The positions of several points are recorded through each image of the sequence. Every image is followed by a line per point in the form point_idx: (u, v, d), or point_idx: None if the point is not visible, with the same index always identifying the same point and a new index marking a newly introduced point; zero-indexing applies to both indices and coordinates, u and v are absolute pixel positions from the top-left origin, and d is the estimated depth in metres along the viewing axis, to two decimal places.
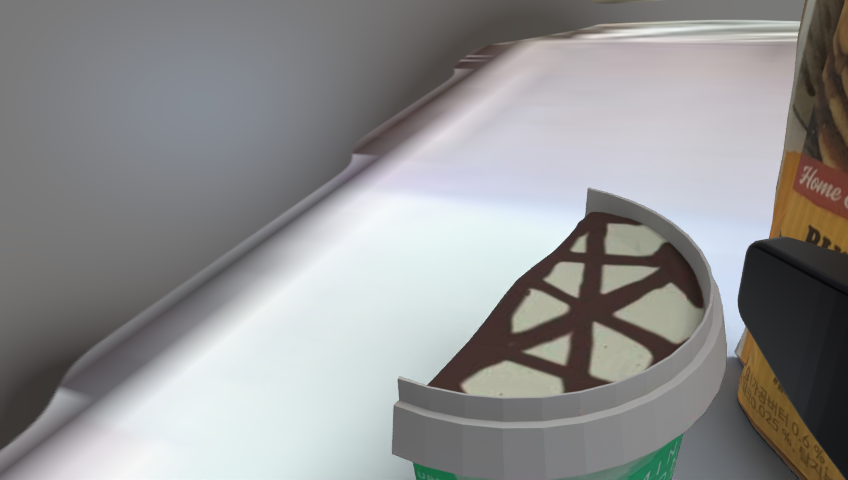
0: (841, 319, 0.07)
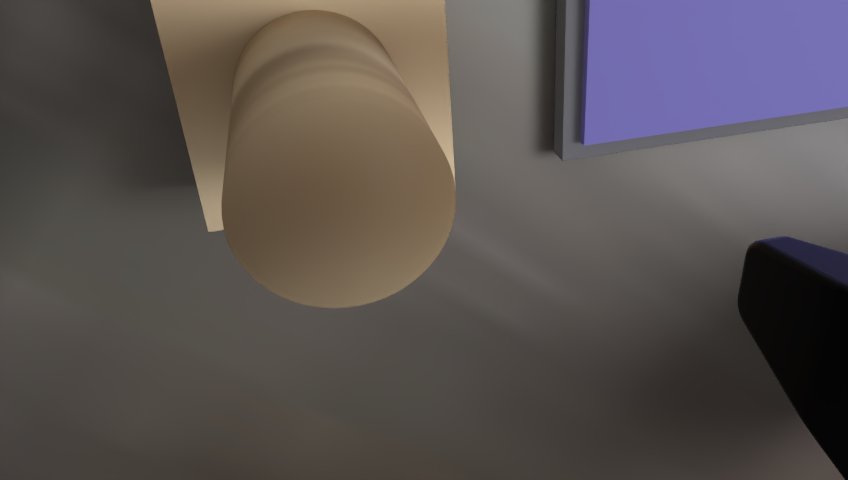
0: (841, 319, 0.07)
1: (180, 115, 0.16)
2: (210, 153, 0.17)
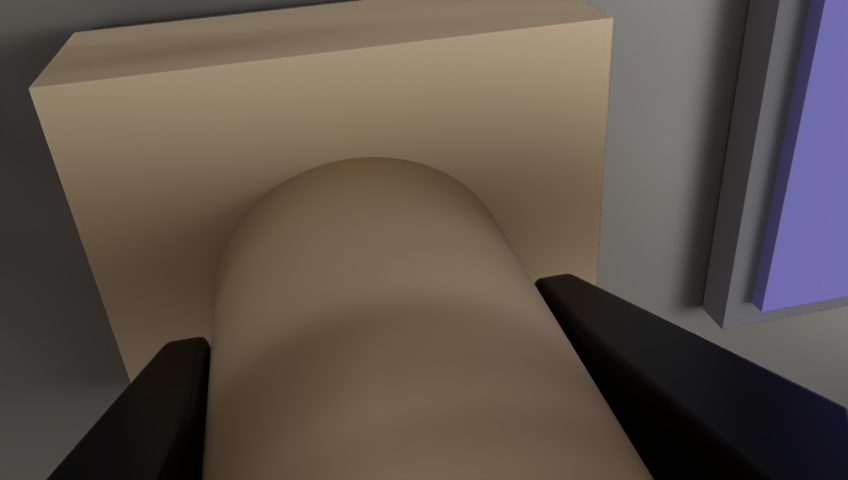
0: (589, 367, 0.07)
1: (118, 341, 0.09)
2: None
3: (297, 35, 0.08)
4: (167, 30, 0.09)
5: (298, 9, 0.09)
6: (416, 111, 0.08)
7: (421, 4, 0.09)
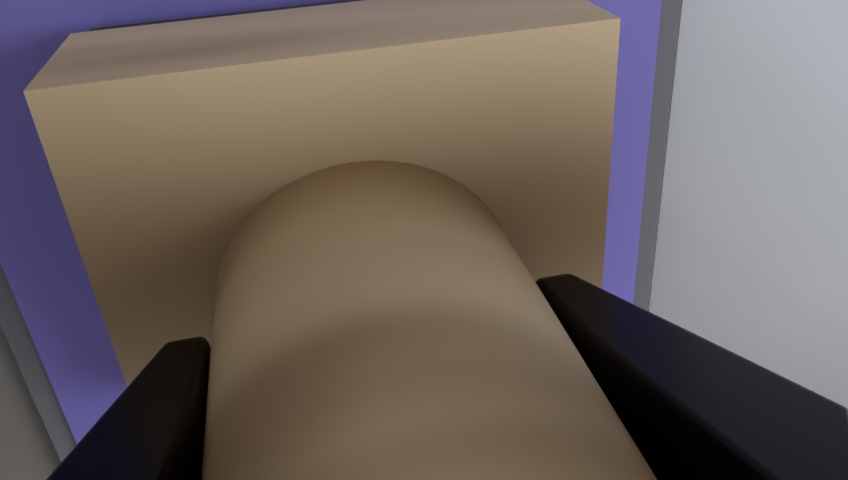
0: (590, 367, 0.07)
1: (116, 348, 0.09)
2: None
3: (298, 36, 0.08)
4: (165, 31, 0.09)
5: (299, 9, 0.09)
6: (420, 114, 0.08)
7: (424, 4, 0.09)
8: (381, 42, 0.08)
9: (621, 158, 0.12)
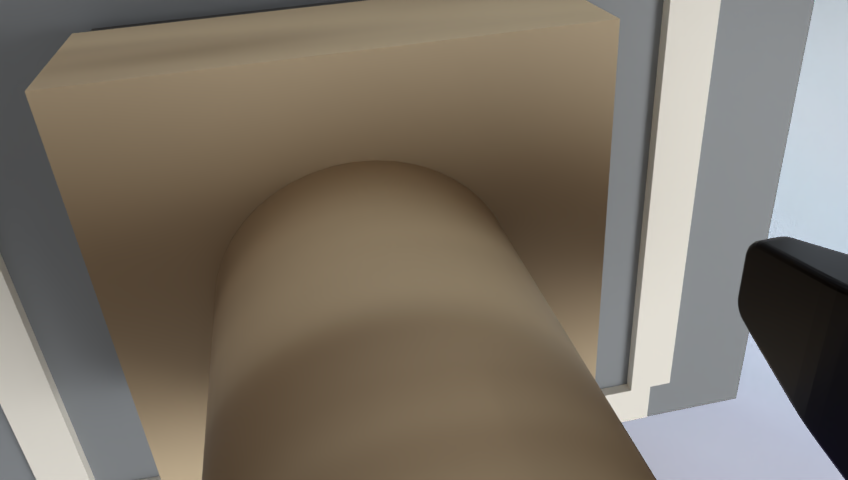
0: (841, 319, 0.07)
1: (117, 347, 0.09)
2: (176, 402, 0.09)
3: (298, 36, 0.08)
4: (166, 31, 0.09)
5: (299, 10, 0.09)
6: (420, 114, 0.08)
7: (424, 5, 0.09)
8: (381, 42, 0.08)
9: None
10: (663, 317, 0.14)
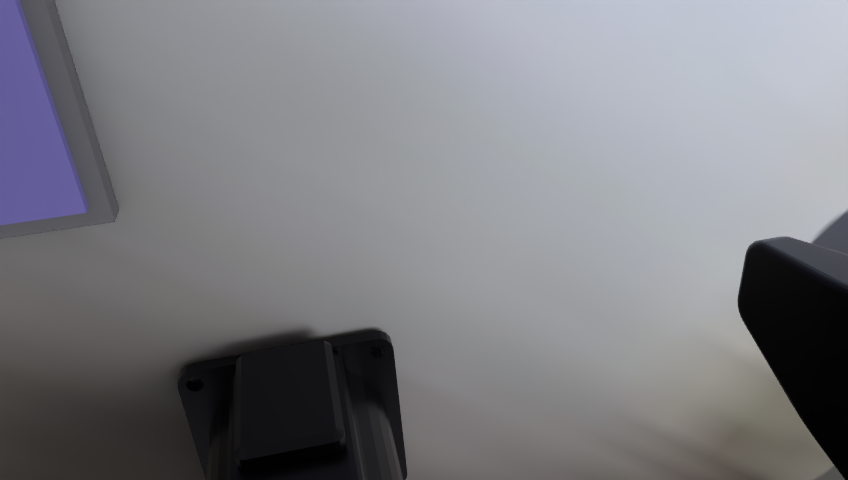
0: (841, 319, 0.07)
1: None
2: None
3: None
4: None
5: None
6: None
7: None
8: None
9: None
10: None
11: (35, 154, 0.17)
